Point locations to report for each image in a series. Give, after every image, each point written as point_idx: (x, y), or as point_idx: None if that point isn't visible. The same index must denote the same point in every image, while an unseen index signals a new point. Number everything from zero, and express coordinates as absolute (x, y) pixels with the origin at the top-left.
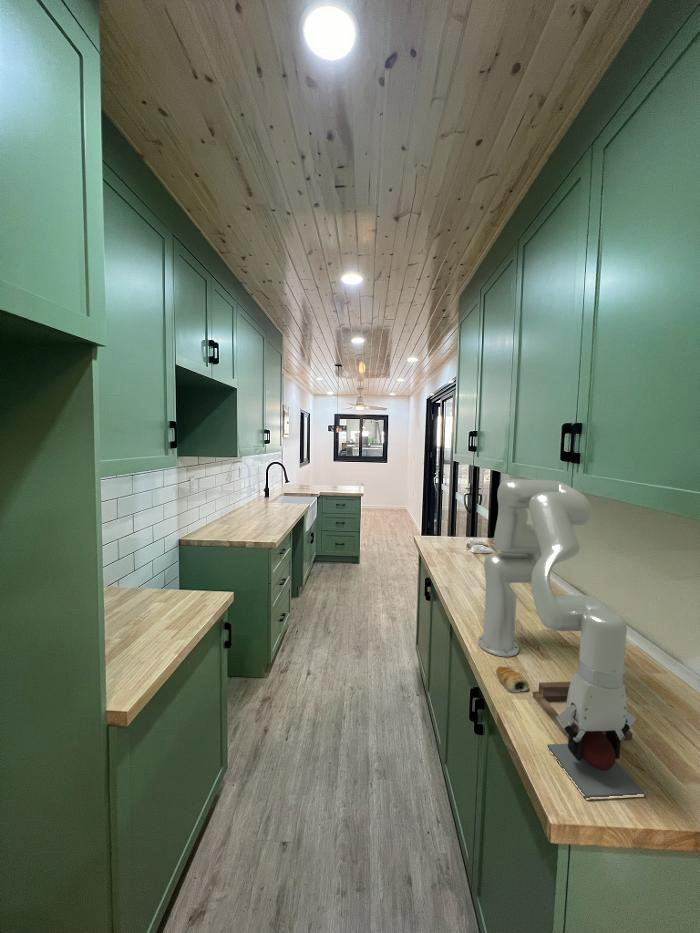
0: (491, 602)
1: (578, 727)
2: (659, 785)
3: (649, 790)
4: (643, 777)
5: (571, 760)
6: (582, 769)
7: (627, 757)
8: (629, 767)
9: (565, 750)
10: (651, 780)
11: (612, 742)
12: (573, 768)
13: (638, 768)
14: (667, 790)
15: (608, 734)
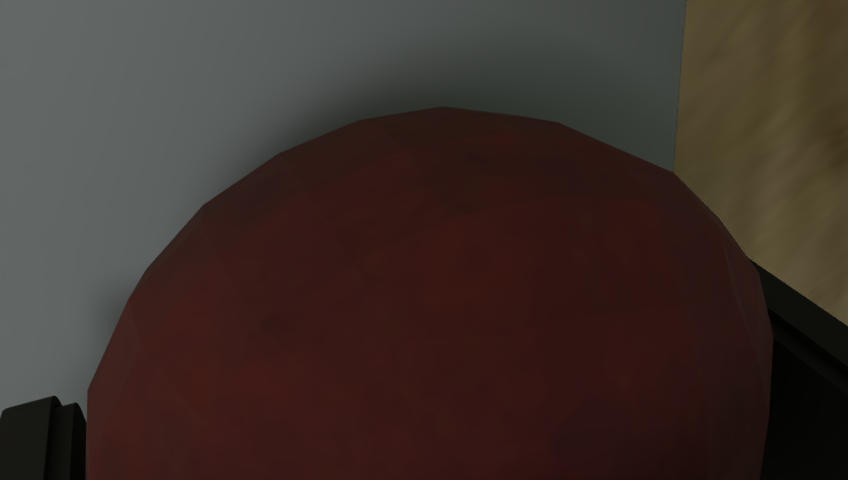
0: None
1: (329, 424)
2: (826, 297)
3: None
4: (777, 245)
5: (94, 272)
6: None
7: (843, 14)
8: (754, 151)
9: (70, 99)
10: (812, 262)
11: (764, 469)
12: (65, 399)
13: (822, 148)
14: None
15: (830, 452)
